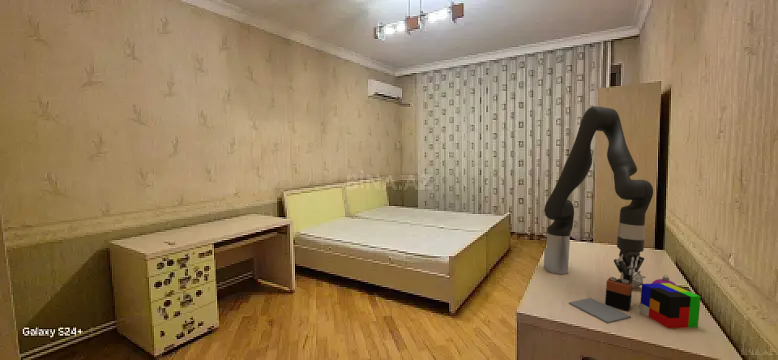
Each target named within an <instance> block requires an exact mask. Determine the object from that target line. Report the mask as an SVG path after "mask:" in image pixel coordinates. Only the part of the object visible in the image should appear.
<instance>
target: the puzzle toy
mask: <svg viewBox="0 0 778 360" xmlns="http://www.w3.org/2000/svg"><path fill="white" fill-rule="evenodd" d="M677 286H678V285H677ZM677 286H675V285H672V284H670V283H656V284H652V283H643V284H642V285H641V291H640V302H639V303H640V304H639V313H640V314H641V315H644V316H645V317H646V318H647V317H648V318H649V319H650V320H653V321H654V322H656V323H659V324H660V325H661V326H664V327H665V328H666V329H684V328H685V329H686V328H688V329H689V328H699V327H698V326H699V317H700V307H701V297H702V296H700V295H698V294H696V293H693V292H691V291H689V290H686V289H684V288H681V287H680V286H678V287H677Z"/></svg>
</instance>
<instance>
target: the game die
mask: <svg viewBox="0 0 778 360" xmlns="http://www.w3.org/2000/svg"><path fill="white" fill-rule="evenodd" d="M619 273H620V278H618V279H619V280H622V279H623V273H622V272H619ZM645 278H646V276H643V275H642V274H641V271H639V270H638V272H635V273H634V275H633V280H632V289H635V288H637V289H640V288H641V287H640V286H642V284H644V279H645Z"/></svg>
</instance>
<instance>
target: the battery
mask: <svg viewBox="0 0 778 360" xmlns="http://www.w3.org/2000/svg"><path fill="white" fill-rule="evenodd" d="M619 279H620V278H616V276H615V277H614V276H611V277H609V278H608V279H607V280H606V284H605V297H604V298H605V301H604V302H605V303H604V304H606V305H608V306H610V307H612V308H614V309H617V310H620V311H626V312H629V311H630V309H631V306H632V296H633V288H632V283H631V282H629V281H628V280H626V279H622V280H619Z"/></svg>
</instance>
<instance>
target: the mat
mask: <svg viewBox="0 0 778 360" xmlns="http://www.w3.org/2000/svg"><path fill="white" fill-rule="evenodd" d="M568 304H569V305H570V306H572V307H574V308H576V309H578V310H581V311H583V312H585V313H586V314H588V315H590V316H592V317H594V318H596V319H598V320H599V321H602V322H604V323H606V324H611V323H616V322H620V321H623V320H627V319H631V318H632V316H631V315H629V314H628V313H625V312H623V311H622V310H620V309H618V308H615V307H611V306H608V305H606V304H605V303H603V302H601V301H599V300H597V299H595V298H592V297H588V298H581V299H579V300H573V301H569V302H568Z"/></svg>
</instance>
